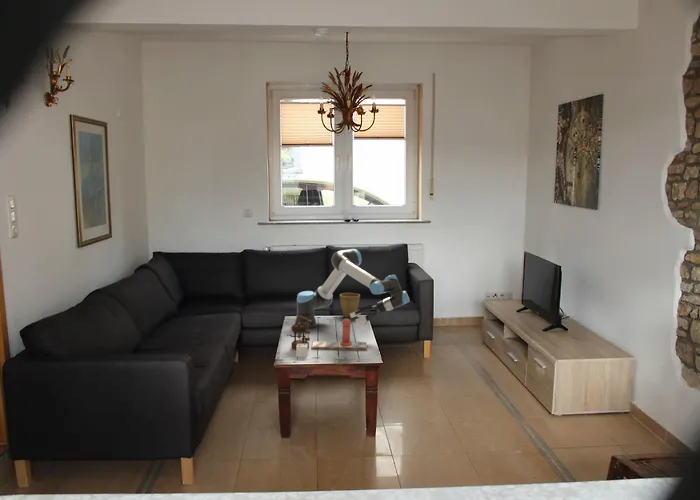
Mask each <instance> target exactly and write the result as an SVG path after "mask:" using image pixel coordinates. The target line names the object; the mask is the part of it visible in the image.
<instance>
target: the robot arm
mask: <svg viewBox="0 0 700 500" xmlns="http://www.w3.org/2000/svg"><path fill="white" fill-rule="evenodd" d="M331 264H332V266H333V267H334V269H333V270H332V271H331V273H330V275H329V276H328V278H327V279H326V280H325V282H324V283H323V284H322V285H321V286H319V287H318V288H317V289H316V290H315V291H312V290H305V291H301V292H299V293H297V295H296V296H297V297H296V317H295V320H294V322H293V325H294V324H298V323H299V322H300V324H305V322H303V321H301V320H299V318H298V317H299V316H302V317H305V318H307V319H309V320H312V321H311V322H310V321H308V322H306V326H307V330H309V329H314V328H317V320H316V317H315V310H318V309H322V308H326V307H330V306H331V304H333V303H332V302H333V296H334V295H333V293H334V292H335V290H336V289H337V288H338V286H339V285H340V284H341V282H342V281H343V279H344V278H345V277H346V276H347V275H348V276H350V277H351V278H352V279H354V280H356V281H358V282H359V283H360V284H362V285H364V286H365V287H367V288H369V291H370V292H371V294H372V295H382V294H385V293H390V295H391V296H389V297H386V298H384V299H383V300H379V301H377V302H376V304H375V303H374V304H373V303H372V304H371V305H367V306H362V307H359V308H358V309H357V311H355V312H353V313H350V316H351V317H350V319H353V318H355V317H358V316H360V315H362V314H365V313H368V314H366V315H364V316H360V317H358V318H356V319H355V323H356V325H358V324H360V323H362V322H365V321H366V322H368V321H371V320H372V319H373V318H375V317H377V316H378V315H380V314H384V313H387V311H388V312H389V311H393V310H394V309H396V308H399V307H402V306H404V305H406V304H409V303H410V297H409V295H408V293H407V291H406V290H403V289H402V287H401V283H400V282H399V279H398V277H397V275H396V274H391V275H388V276H386V277H385V278H384V280H380V279H378V278H377V277H375V276H373V275H372V273H371V274H370V273H369V272H367V271H366V270H364V269H362V268H361V267H359V266H360V265H361V264H362V255H361V252H360V251H359V250H358V249H356V248H349V249H342V250H337V251H335V252H334V253H333V254H332V257H331Z"/></svg>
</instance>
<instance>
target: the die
mask: <svg viewBox="0 0 700 500" xmlns="http://www.w3.org/2000/svg"><path fill="white" fill-rule="evenodd" d="M295 351H296V353H295V355H296V357H297V358H307V357H308V344H297V346H296V350H295Z"/></svg>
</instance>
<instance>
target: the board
mask: <svg viewBox="0 0 700 500" xmlns="http://www.w3.org/2000/svg"><path fill="white" fill-rule="evenodd" d="M311 342H312V343H311V346H310V349H311V350H312V351H314V350H316V351H317V350H318V351H319V350H321V351H323V350H324V351H330V350H331V351H367V349H368V348H367V347H368V346H367V341H366V342H365V341H364V342H363V341H362V342H361V341H351V342H352V345H351V346H342V345H340V341H311Z"/></svg>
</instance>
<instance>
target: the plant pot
mask: <svg viewBox="0 0 700 500" xmlns="http://www.w3.org/2000/svg"><path fill="white" fill-rule="evenodd" d="M339 299H340V300H339V301H340V306H341V310H342V313H343V316H344V317H345V318H351V316H350V313H353V312H355V311H358V309H359V308H358V307H359V303H360V299H361V294H360V293H356V292H355V293H354V292H343V293H340V294H339Z"/></svg>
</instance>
